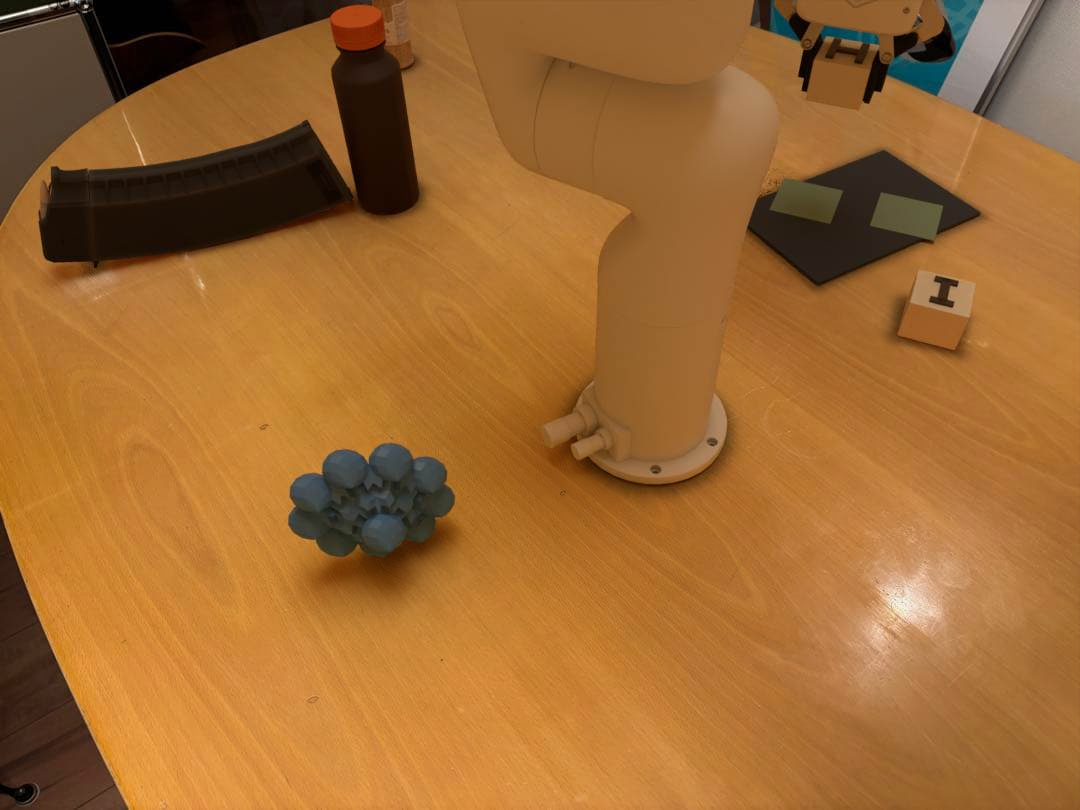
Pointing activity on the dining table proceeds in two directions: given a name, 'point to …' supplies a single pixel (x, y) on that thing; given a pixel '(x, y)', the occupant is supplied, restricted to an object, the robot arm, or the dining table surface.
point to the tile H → (841, 72)
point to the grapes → (370, 501)
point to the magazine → (188, 200)
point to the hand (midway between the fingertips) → (838, 89)
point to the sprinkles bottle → (396, 29)
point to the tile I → (937, 309)
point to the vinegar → (373, 111)
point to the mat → (854, 215)
